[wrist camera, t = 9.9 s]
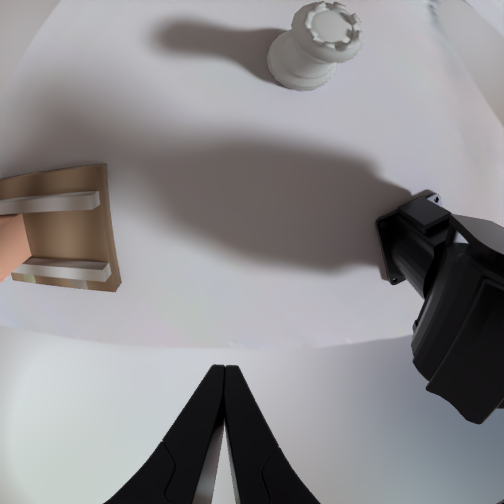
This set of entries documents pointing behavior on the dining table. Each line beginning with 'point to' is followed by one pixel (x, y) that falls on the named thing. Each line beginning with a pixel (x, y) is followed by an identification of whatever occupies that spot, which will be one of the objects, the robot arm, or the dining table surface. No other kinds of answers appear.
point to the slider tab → (12, 243)
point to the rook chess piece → (314, 46)
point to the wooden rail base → (65, 227)
